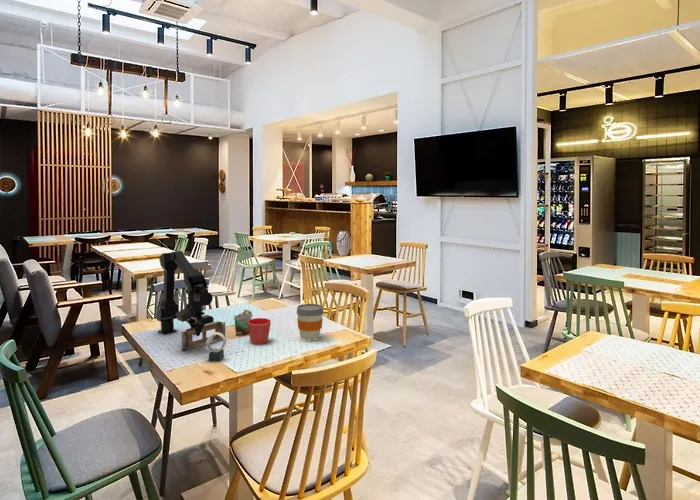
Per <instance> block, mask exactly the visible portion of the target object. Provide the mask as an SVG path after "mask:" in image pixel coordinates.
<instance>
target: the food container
mask: <svg viewBox="0 0 700 500" xmlns="http://www.w3.org/2000/svg"><path fill="white" fill-rule="evenodd" d="M252 318H253V313H252V311H251V310H248V309H244V310H243V312H240V313H239V314H237V315H234V318H233V320H234V328H235V329H234V330H235V331H234V332H235V336H245V335H249V331H248V324H247V321H248V320H250V319H252Z"/></svg>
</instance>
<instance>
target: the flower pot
mask: <svg viewBox="0 0 700 500" xmlns="http://www.w3.org/2000/svg"><path fill="white" fill-rule="evenodd" d="M247 324H248V331H249V334H248V335H249V341H250V343H252V344H254V345H263V344H265V343H267V342H268V340H269V335H270V329H271V324H272V323H271V319H269V318H265V317H257V318H251V319H250V320H248V321H247Z"/></svg>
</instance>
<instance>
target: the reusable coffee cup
mask: <svg viewBox="0 0 700 500" xmlns="http://www.w3.org/2000/svg"><path fill="white" fill-rule="evenodd" d="M296 315H297V318H296V320H297V328H298V330H299V335H300V336H299V337H300V339H301V338H302V339H305V340H315V339H318V338H319V339H320V336H321V330H322V327H323V321H324V319H323V315H324V307H323V305H321V304H317V303H305V304H300V305H297V307H296ZM302 339H301V340H302ZM319 339H318V340H319ZM305 340H304V341H305ZM315 341H316V340H315Z"/></svg>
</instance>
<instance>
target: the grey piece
mask: <svg viewBox="0 0 700 500" xmlns="http://www.w3.org/2000/svg"><path fill="white" fill-rule="evenodd" d="M220 322H221V323H222V334H223V335H224V336H225V338H226V337H227V336H226V322H225V321H220ZM180 336H181V337H180V339H181V351H183V352H187V351H188V348H187V340H186V331H181V333H180ZM220 340H221V341H223V338H222V339H220Z"/></svg>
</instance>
